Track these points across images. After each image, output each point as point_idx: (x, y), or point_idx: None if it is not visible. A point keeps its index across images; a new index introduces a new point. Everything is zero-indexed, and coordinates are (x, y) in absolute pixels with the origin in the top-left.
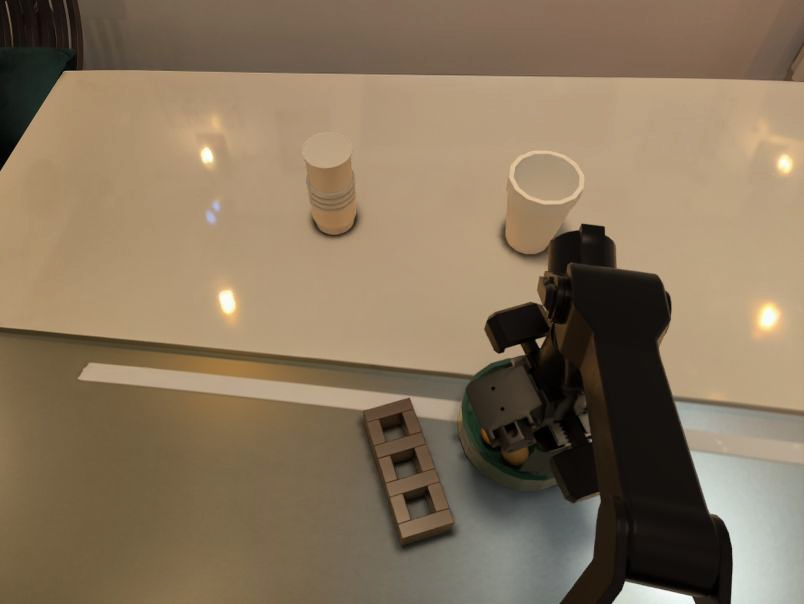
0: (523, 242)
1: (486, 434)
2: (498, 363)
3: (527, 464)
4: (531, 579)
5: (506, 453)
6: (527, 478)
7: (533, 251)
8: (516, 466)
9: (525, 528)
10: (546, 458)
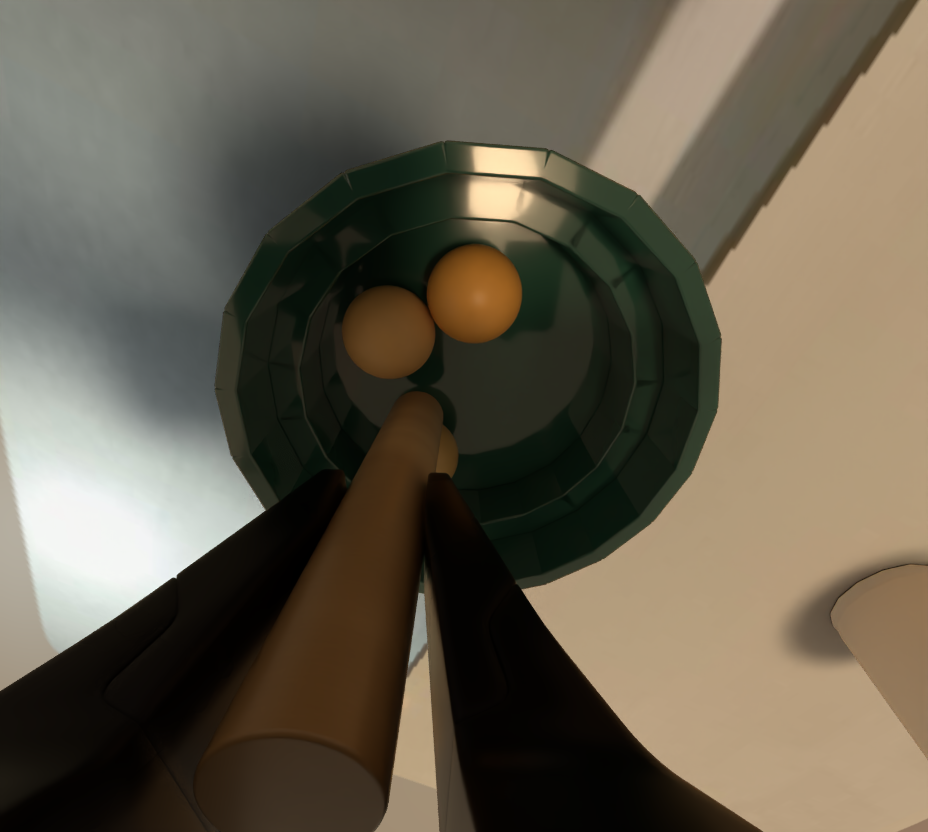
0: (920, 620)
1: (472, 260)
2: (698, 434)
3: None
4: (7, 190)
5: (380, 300)
6: (227, 329)
7: (854, 604)
8: None
9: (175, 251)
10: (361, 406)
